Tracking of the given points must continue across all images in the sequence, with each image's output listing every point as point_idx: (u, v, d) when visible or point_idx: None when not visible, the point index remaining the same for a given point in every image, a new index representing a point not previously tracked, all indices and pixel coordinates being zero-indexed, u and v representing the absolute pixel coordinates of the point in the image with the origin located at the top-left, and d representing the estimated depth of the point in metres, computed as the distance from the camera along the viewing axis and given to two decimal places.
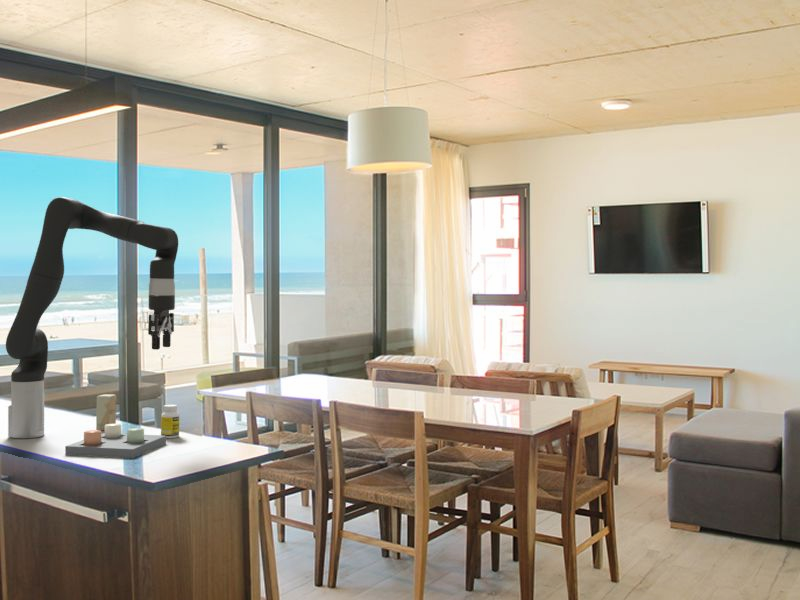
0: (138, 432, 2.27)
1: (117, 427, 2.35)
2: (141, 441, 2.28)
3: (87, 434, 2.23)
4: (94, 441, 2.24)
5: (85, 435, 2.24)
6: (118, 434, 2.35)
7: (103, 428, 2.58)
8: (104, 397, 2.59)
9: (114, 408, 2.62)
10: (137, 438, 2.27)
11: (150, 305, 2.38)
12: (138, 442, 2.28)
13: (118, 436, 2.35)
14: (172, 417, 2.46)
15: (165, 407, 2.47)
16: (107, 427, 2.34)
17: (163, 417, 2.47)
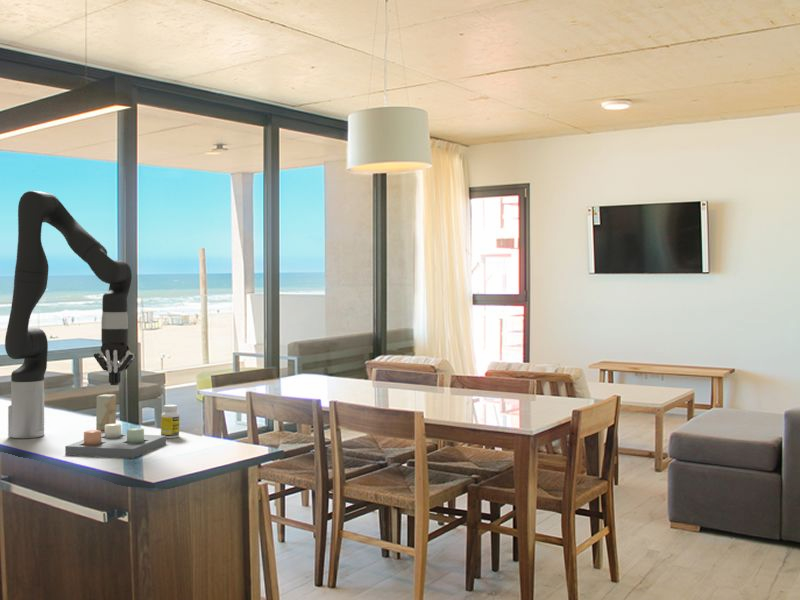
0: (138, 432, 2.27)
1: (117, 427, 2.35)
2: (141, 441, 2.28)
3: (87, 434, 2.23)
4: (94, 441, 2.24)
5: (85, 435, 2.24)
6: (118, 434, 2.35)
7: (103, 428, 2.58)
8: (104, 397, 2.59)
9: (114, 408, 2.62)
10: (137, 438, 2.27)
11: (120, 339, 2.38)
12: (138, 442, 2.28)
13: (118, 436, 2.35)
14: (172, 417, 2.47)
15: (165, 407, 2.47)
16: (107, 427, 2.34)
17: (163, 417, 2.47)
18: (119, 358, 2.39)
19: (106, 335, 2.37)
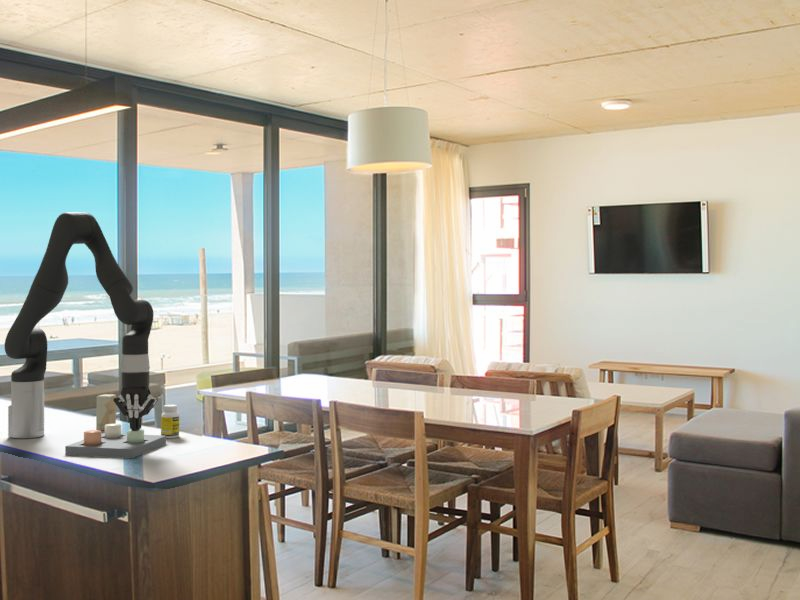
0: (138, 433, 2.28)
1: (117, 427, 2.35)
2: (141, 442, 2.28)
3: (87, 434, 2.23)
4: (94, 441, 2.24)
5: (85, 435, 2.24)
6: (118, 434, 2.35)
7: (103, 428, 2.58)
8: (104, 397, 2.59)
9: (114, 408, 2.62)
10: (137, 439, 2.27)
11: (141, 382, 2.26)
12: (138, 443, 2.28)
13: (118, 436, 2.35)
14: (172, 417, 2.46)
15: (165, 407, 2.47)
16: (107, 427, 2.34)
17: (163, 417, 2.47)
18: (140, 403, 2.28)
19: (127, 379, 2.25)
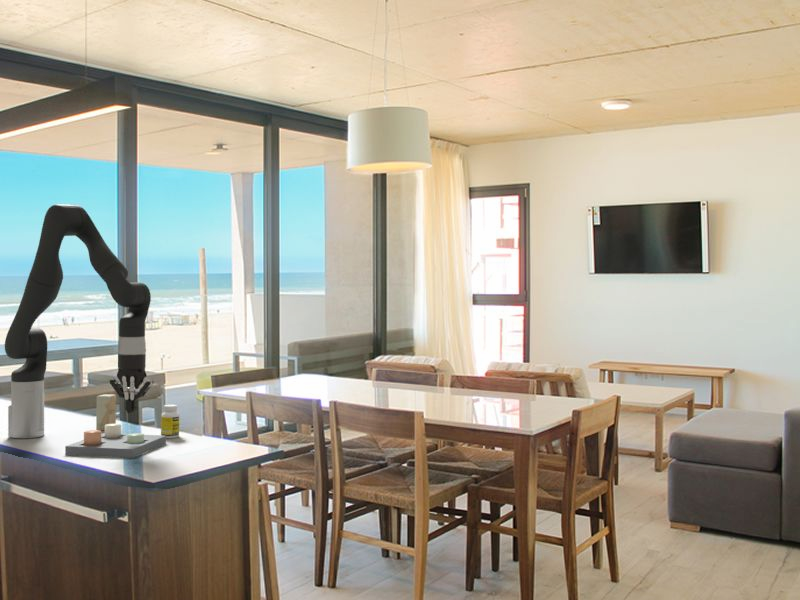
0: (138, 437, 2.28)
1: (117, 427, 2.35)
2: None
3: (87, 434, 2.23)
4: (94, 441, 2.24)
5: (85, 435, 2.24)
6: (118, 434, 2.35)
7: (103, 428, 2.58)
8: (104, 397, 2.59)
9: (114, 408, 2.62)
10: None
11: (137, 365, 2.27)
12: None
13: (118, 436, 2.35)
14: (172, 417, 2.47)
15: (165, 407, 2.47)
16: (107, 427, 2.34)
17: (163, 417, 2.47)
18: (136, 385, 2.29)
19: (123, 361, 2.26)
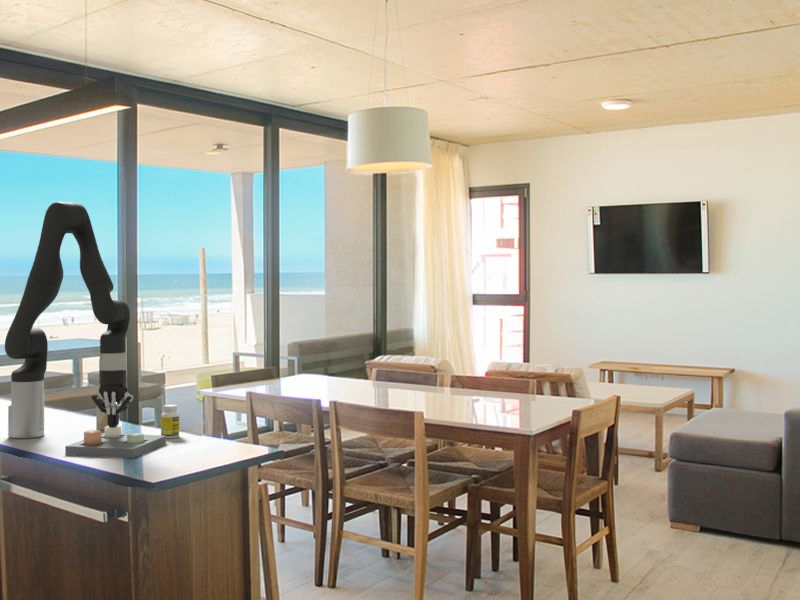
0: (138, 437, 2.28)
1: (117, 429, 2.35)
2: None
3: (87, 434, 2.23)
4: (94, 441, 2.24)
5: (85, 435, 2.24)
6: (118, 436, 2.35)
7: (103, 428, 2.58)
8: None
9: None
10: None
11: (118, 380, 2.33)
12: None
13: None
14: (172, 417, 2.46)
15: (165, 407, 2.47)
16: (107, 429, 2.34)
17: (163, 417, 2.47)
18: (117, 400, 2.35)
19: (104, 377, 2.32)
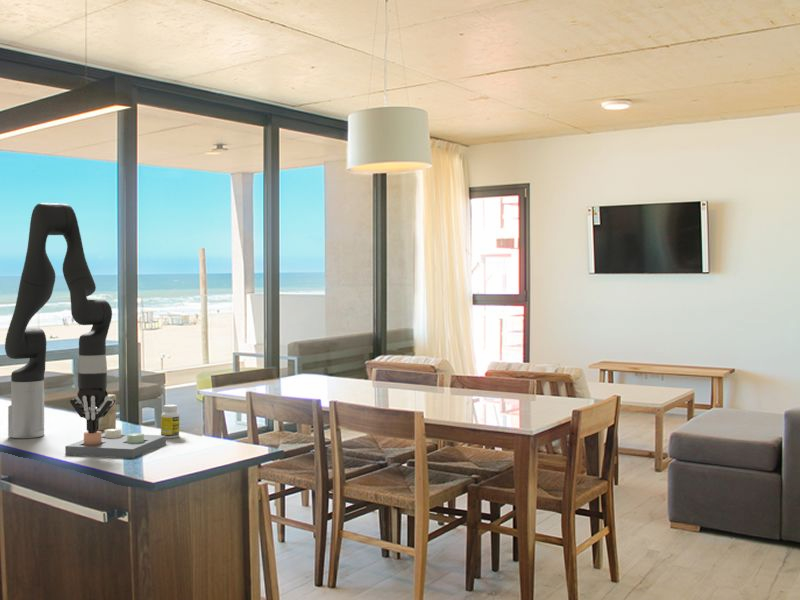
0: (138, 437, 2.28)
1: (117, 432, 2.35)
2: None
3: (87, 435, 2.23)
4: (94, 442, 2.24)
5: (85, 436, 2.24)
6: None
7: (103, 428, 2.58)
8: None
9: (114, 408, 2.62)
10: None
11: (97, 384, 2.22)
12: None
13: None
14: (172, 417, 2.47)
15: (165, 407, 2.47)
16: (107, 433, 2.34)
17: (163, 417, 2.47)
18: (97, 404, 2.24)
19: (83, 380, 2.21)
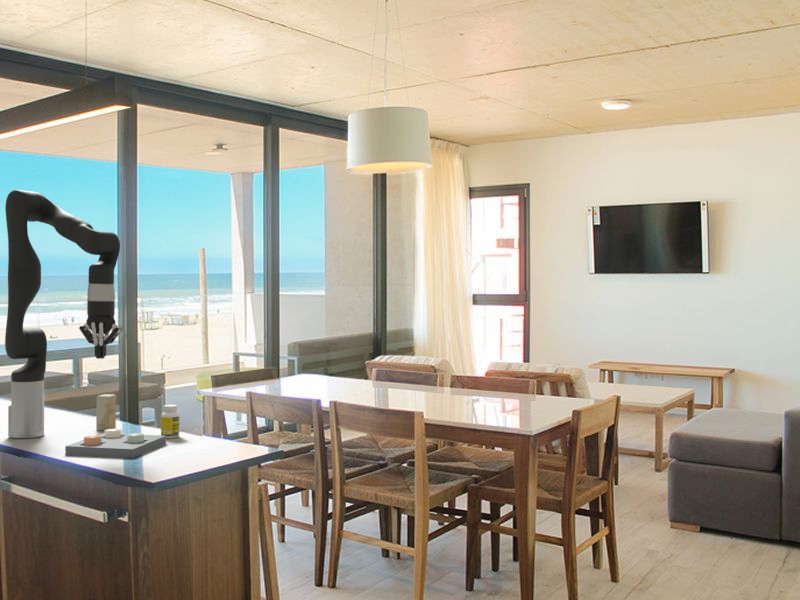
0: (138, 437, 2.28)
1: (117, 432, 2.35)
2: None
3: (87, 439, 2.23)
4: None
5: (85, 440, 2.24)
6: None
7: (103, 428, 2.58)
8: (104, 397, 2.59)
9: (114, 408, 2.62)
10: None
11: (106, 311, 2.33)
12: None
13: None
14: (172, 417, 2.47)
15: (165, 407, 2.47)
16: (107, 433, 2.34)
17: (163, 417, 2.47)
18: (105, 331, 2.35)
19: (92, 307, 2.32)
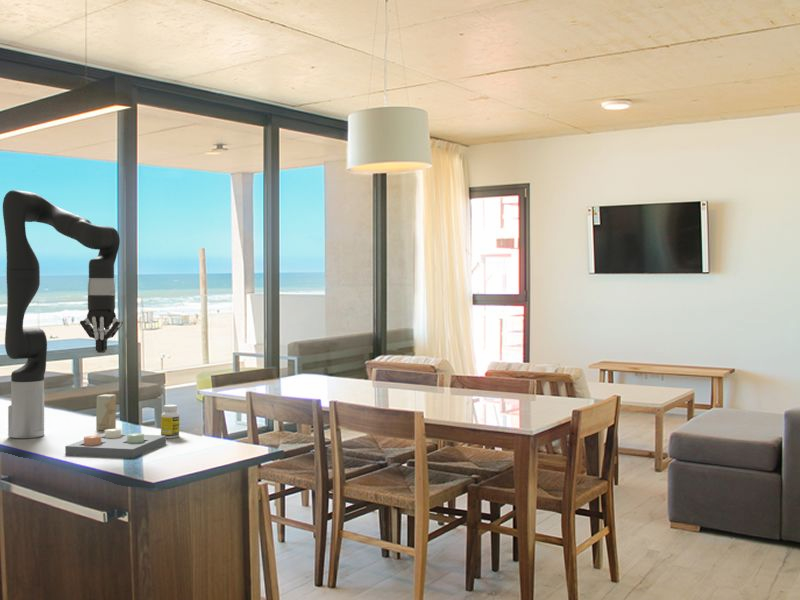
0: (138, 437, 2.28)
1: (117, 432, 2.35)
2: None
3: (87, 439, 2.23)
4: None
5: (85, 440, 2.24)
6: None
7: (103, 428, 2.58)
8: (104, 397, 2.59)
9: (114, 408, 2.62)
10: None
11: (106, 305, 2.34)
12: None
13: None
14: (172, 417, 2.46)
15: (165, 407, 2.47)
16: (107, 433, 2.34)
17: (163, 417, 2.47)
18: (106, 325, 2.36)
19: (93, 301, 2.33)
